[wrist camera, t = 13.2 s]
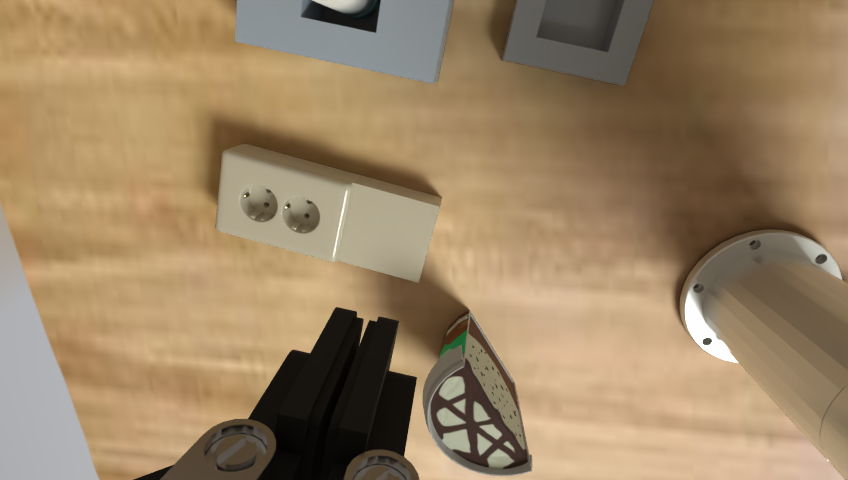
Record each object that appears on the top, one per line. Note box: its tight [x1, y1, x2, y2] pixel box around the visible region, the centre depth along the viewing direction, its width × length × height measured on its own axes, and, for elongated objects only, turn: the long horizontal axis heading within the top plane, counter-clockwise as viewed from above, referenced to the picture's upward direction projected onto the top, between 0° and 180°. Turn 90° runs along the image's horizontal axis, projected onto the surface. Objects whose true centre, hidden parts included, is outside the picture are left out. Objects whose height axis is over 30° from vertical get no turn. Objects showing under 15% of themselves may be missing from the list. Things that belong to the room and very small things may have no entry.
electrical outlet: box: [215, 143, 442, 283], centre depth 40 cm, size 7×4×18 cm
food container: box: [423, 310, 532, 476], centre depth 41 cm, size 12×6×10 cm, turn 31°
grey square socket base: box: [501, 0, 654, 85], centre depth 33 cm, size 9×9×2 cm
